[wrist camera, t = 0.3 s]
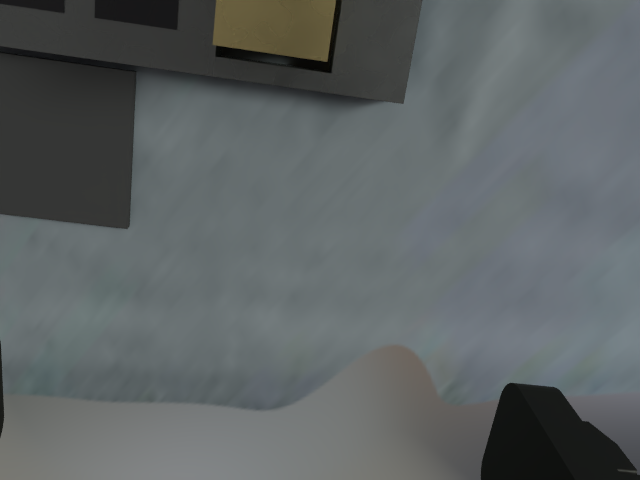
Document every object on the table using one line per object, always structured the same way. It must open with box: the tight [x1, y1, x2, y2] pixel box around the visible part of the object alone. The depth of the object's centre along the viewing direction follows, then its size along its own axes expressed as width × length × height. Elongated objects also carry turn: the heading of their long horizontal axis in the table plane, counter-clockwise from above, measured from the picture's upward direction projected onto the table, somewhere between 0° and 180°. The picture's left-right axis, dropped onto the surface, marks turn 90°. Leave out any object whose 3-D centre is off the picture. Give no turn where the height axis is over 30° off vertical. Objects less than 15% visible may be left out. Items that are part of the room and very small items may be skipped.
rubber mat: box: [0, 52, 136, 229], centre depth 33 cm, size 9×9×1 cm
